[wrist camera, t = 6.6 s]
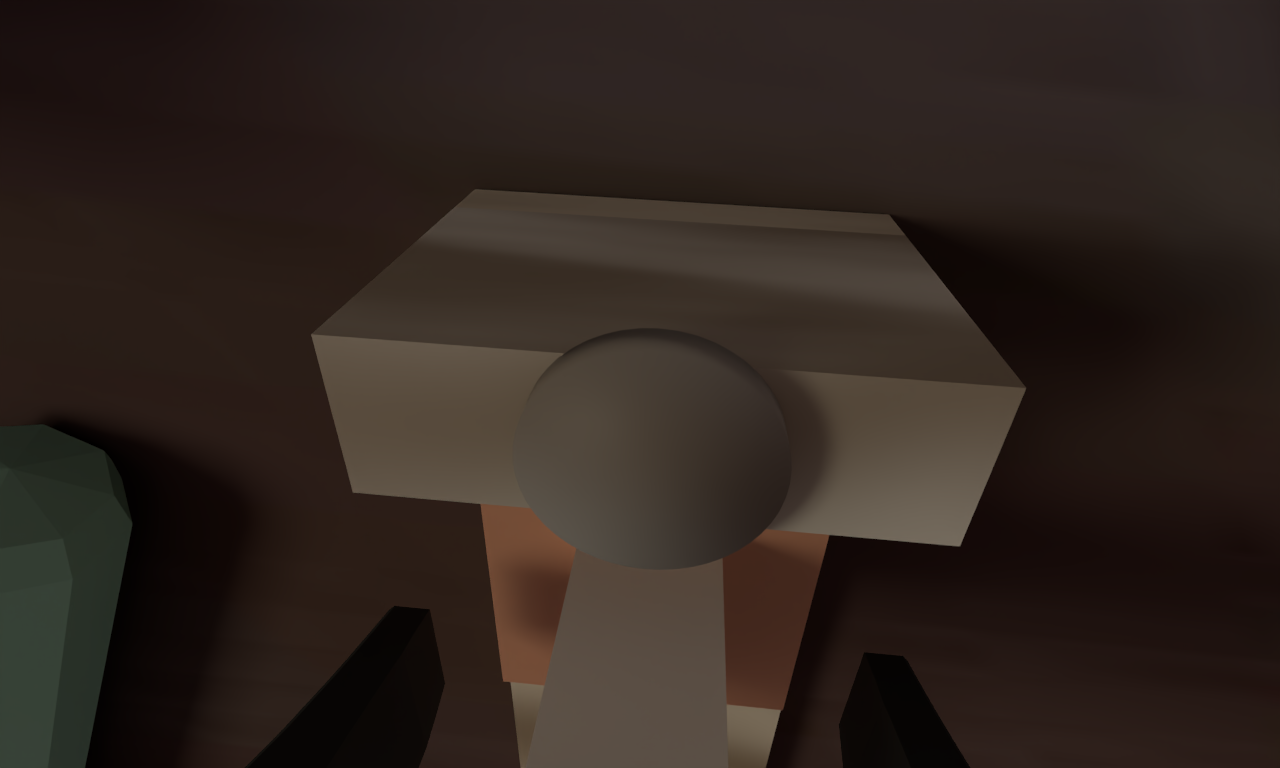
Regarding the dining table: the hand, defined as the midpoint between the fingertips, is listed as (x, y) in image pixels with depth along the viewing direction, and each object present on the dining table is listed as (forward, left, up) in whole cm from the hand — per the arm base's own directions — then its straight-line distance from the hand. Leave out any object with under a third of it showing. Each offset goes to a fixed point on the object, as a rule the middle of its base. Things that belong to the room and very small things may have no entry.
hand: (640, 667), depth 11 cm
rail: (-3, +4, -6) cm, 8 cm away
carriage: (0, 0, -4) cm, 4 cm away
